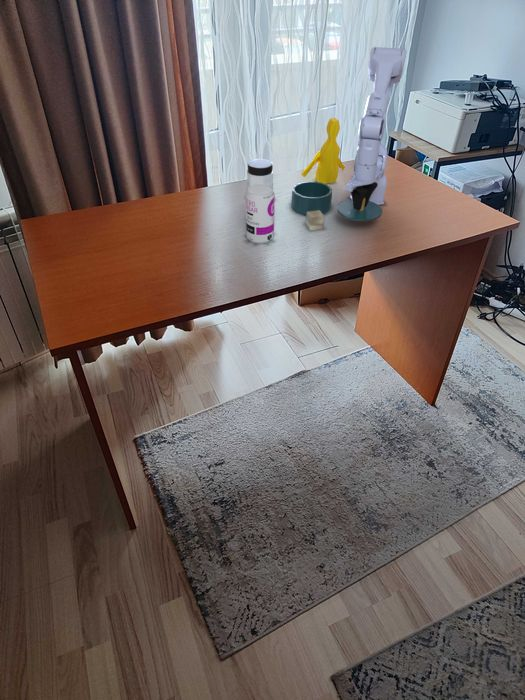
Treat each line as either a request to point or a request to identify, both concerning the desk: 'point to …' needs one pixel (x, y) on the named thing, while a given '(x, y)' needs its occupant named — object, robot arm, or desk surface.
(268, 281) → the desk surface
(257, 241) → the supplement can
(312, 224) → the block
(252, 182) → the jar
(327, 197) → the tin
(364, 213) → the lid
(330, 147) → the figure statuette
